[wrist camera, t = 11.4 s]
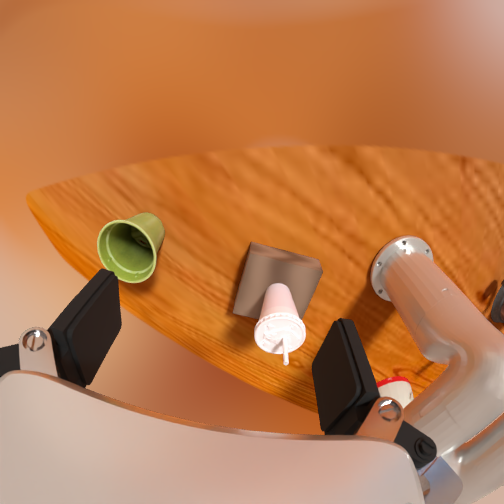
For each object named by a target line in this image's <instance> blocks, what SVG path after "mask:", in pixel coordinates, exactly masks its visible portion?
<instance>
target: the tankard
mask: <svg viewBox="0 0 504 504" xmlns="http://www.w3.org/2000/svg"><path fill="white" fill-rule="evenodd" d="M501 284H502V286H501V288H500V290H499V292H498V293H497V295H496V298H495V300H494V303H493V306H492V310H491V317H492V320H493V321H494V322H501V323H504V280H503V281H502V283H501Z"/></svg>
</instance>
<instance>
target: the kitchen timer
mask: <svg viewBox="0 0 504 504" xmlns="http://www.w3.org/2000/svg"><path fill="white" fill-rule="evenodd" d="M376 384H377V387H378V390H379V393H380V396H381V397H385V396H387V397H391V398H393V399H395V400H397V401H398V402H399V403H400V404H401V405H402V407H403V408H404V407H405V406H407V405H408V404H409V403H410V402H411V401H412V400H414V398H413V392H412V389H411V386H410V383H409V381H408V379H407V378H405V377H401V376H398V377H391V378H387V379H384V380H382V381H380V382H378V383H376Z"/></svg>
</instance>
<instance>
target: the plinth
mask: <svg viewBox="0 0 504 504" xmlns="http://www.w3.org/2000/svg"><path fill="white" fill-rule="evenodd" d="M322 273H323V270H322V268H321V265H320V262H319V259H315V258H311V257H307V256H304V255H300V254H296V253H292V252H288V251H285V250H281V249H277V248H273V247H269V246H265V245H262V244H258V243H254V242H251V245H250V248H249V252H248V255H247V259H246V262H245V266H244V269H243V273H242V276H241V280H240V283H239V287H238V291H237V294H236V298H235V302H234V308H233V313H234V314H238V315H242V316H246V317H251V318H255V319H259V318H260V315H261V310H262V306H263V302H264V298H265V293H266V290H267V288H268V287H269V286H271V285H272V284H276V283H281V284H284V285H286V286H287V287H288V288H289V290H290V293H291V296H292V299H293V301H294V304H295V307H296V310H297V313H298V316H299V318H300V319H301V320H302V318H303V316H304V313H305V311H306V309H307V307H308V305H309V303H310V300H311V298H312V296H313V294H314V291H315V289H316V287H317V285H318V282H319V280H320V278H321V275H322Z"/></svg>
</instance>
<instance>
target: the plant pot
mask: <svg viewBox="0 0 504 504" xmlns="http://www.w3.org/2000/svg"><path fill="white" fill-rule="evenodd" d="M164 235H165V230H164V228H163V225H162V222H161V221H160V219H159V218H158V217H156V216H155V215H153V214H151V213H141V214H138V215H136V216H133V217H131V218H129V219H127V220H115V221H112V222H110V223H108V224H106V225H105V226H104V227H103V228H102V230H101V231H100V233H99V236H98V241H97V247H98V254H99V257H100V259H101V262H102V263H103V265H104V266H105V268H106V269H107V270H110V271H113V272H114V273H115V276H117V277H118V279H119V280H122V281H125V282H128V283H139V282H142V281H145V280H146V279H148V278H149V277H150V276H151V275H152V273H153V271H154V269H155V266H156V260H157V255H156V254H157V252H158V250H159V248H160V246H161V244H162V241H163V239H164ZM140 240H142V241H143V242H145V243H146V244H144V243H141V242H140Z"/></svg>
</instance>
